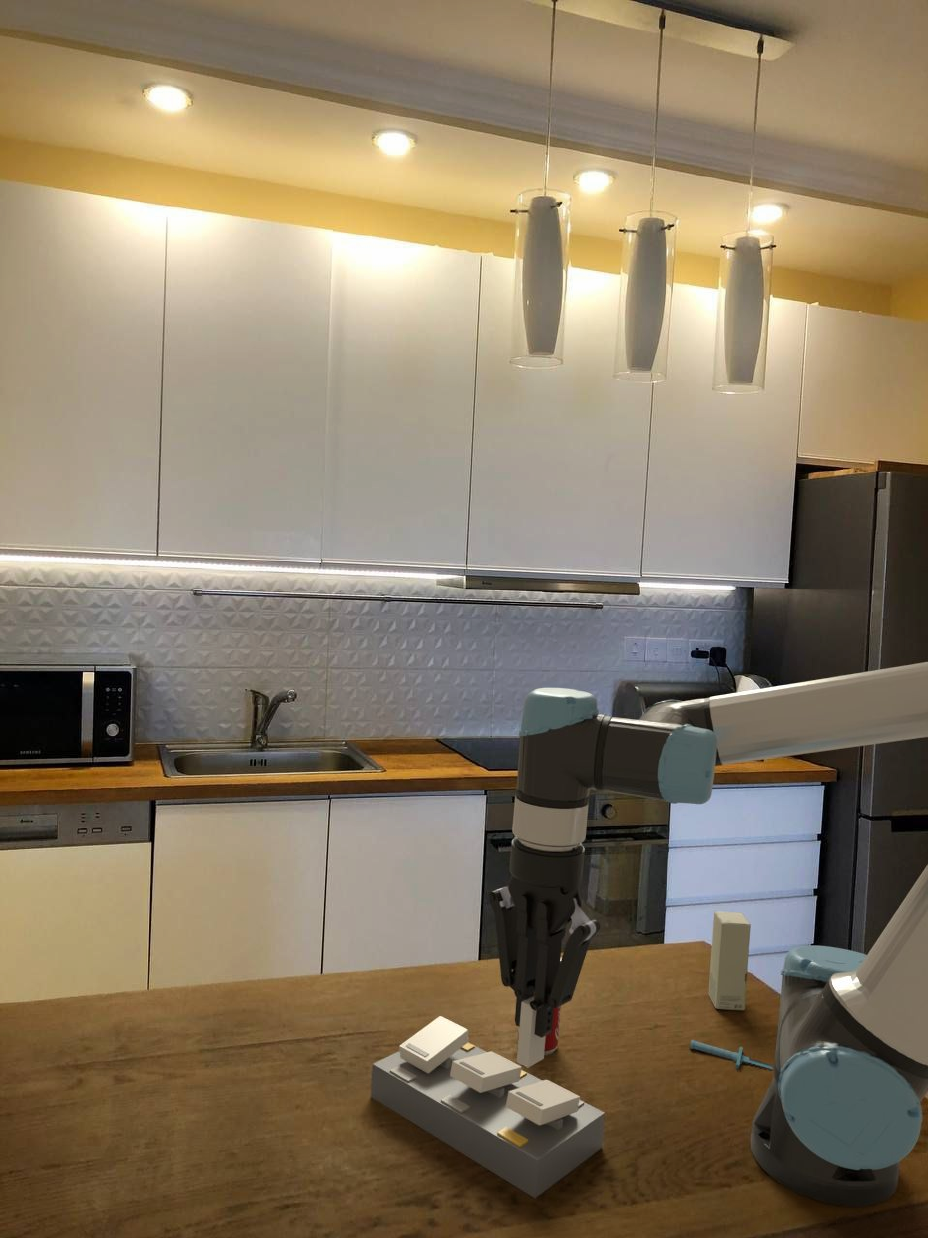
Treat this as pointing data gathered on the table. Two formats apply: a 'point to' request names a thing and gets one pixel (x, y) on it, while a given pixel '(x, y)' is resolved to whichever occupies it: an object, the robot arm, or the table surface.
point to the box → (729, 960)
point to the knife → (729, 1055)
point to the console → (488, 1122)
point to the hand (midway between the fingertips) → (530, 1060)
